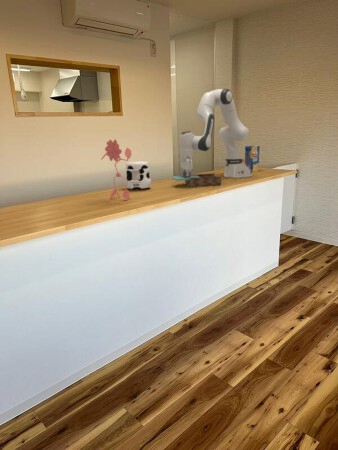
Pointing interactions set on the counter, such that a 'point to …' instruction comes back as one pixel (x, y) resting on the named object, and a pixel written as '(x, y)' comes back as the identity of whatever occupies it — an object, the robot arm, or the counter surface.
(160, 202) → the counter surface
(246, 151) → the beverage box
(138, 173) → the milk container
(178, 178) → the cover plate
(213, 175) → the walnut box
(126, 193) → the figurine
